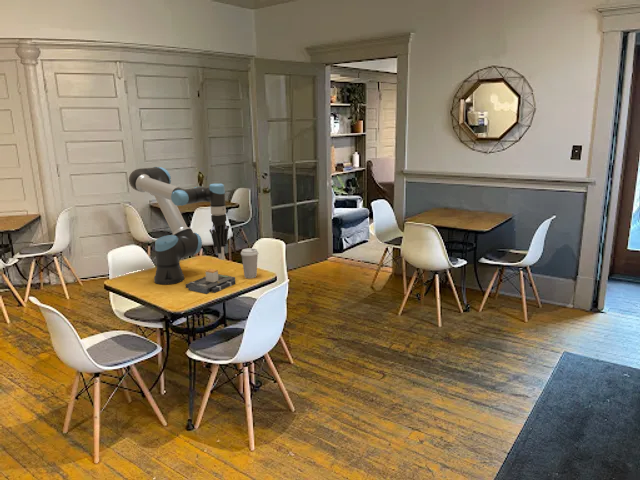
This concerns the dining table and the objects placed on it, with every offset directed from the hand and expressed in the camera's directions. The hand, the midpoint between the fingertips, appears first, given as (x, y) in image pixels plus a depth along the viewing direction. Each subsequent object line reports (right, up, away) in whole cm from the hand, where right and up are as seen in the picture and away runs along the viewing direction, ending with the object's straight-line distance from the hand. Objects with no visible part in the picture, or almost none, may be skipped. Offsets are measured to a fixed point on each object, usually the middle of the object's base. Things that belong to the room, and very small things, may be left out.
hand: (221, 258), depth 253 cm
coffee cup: (+13, -10, +12) cm, 21 cm away
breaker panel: (-4, -14, -3) cm, 15 cm away
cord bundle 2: (+3, -15, -7) cm, 16 cm away
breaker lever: (-4, -11, -4) cm, 12 cm away
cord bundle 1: (-11, -13, 0) cm, 17 cm away
